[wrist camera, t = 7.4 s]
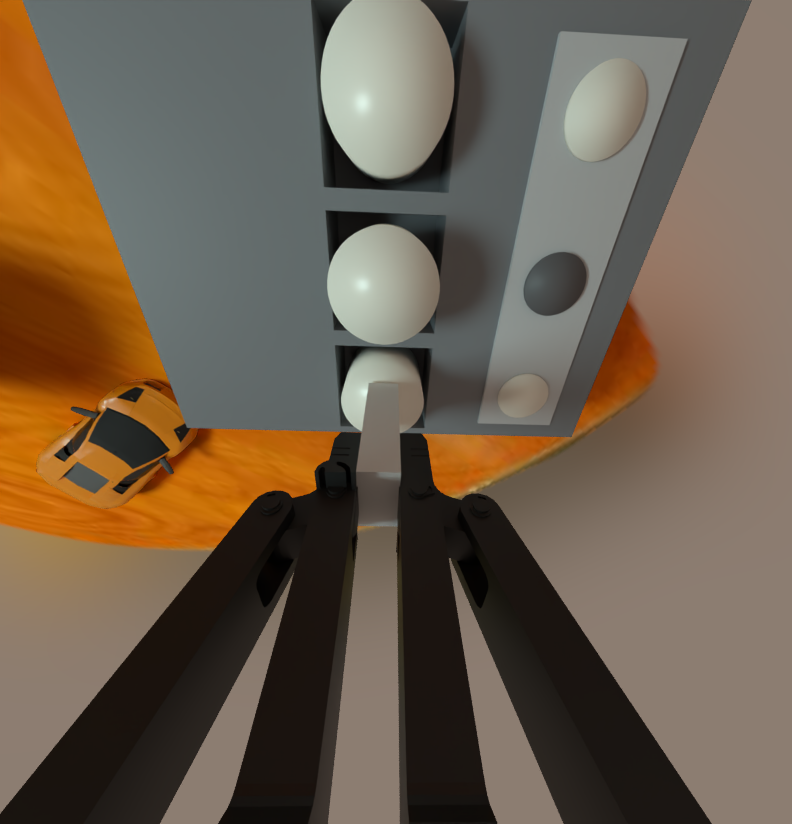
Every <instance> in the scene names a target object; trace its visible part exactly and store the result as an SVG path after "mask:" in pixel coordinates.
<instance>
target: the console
mask: <svg viewBox="0 0 792 824" xmlns="http://www.w3.org/2000/svg"><path fill="white" fill-rule="evenodd" d="M351 1H352V0H23V3H24V5H25V8H26V11H27V13H28V16H29V18H30V21H31V24H32V26H33V29H34V31H35V34H36V37H37V39H38V42H39V44H40V47H41V50H42V52H43V55H44V57H45V60H46V63H47V65H48V68H49V70H50V73H51V76H52V78H53V81H54V83H55V86H56V89H57V91H58V94H59V96H60V99H61V102H62V104H63V107H64V109H65V112H66V115H67V117H68V120H69V122H70V125H71V128H72V130H73V133H74V135H75V138H76V140H77V143H78V146H79V148H80V151H81V153H82V156H83V159H84V161H85V164H86V166H87V169H88V172H89V174H90V177H91V179H92V182H93V185H94V187H95V190H96V192H97V195H98V198H99V200H100V203H101V205H102V208H103V211H104V213H105V216H106V218H107V221H108V224H109V226H110V229H111V231H112V234H113V237H114V239H115V242H116V244H117V247H118V250H119V252H120V255H121V257H122V260H123V263H124V265H125V268H126V270H127V273H128V276H129V278H130V281H131V283H132V286H133V289H134V291H135V294H136V296H137V299H138V302H139V304H140V307H141V309H142V312H143V315H144V317H145V320H146V322H147V325H148V327H149V330H150V333H151V335H152V338H153V340H154V343H155V346H156V348H157V351H158V353H159V356H160V359H161V361H162V364H163V366H164V369H165V372H166V374H167V377H168V379H169V382H170V385H171V387H172V390H173V392H174V395H175V398H176V400H177V403H178V405H179V408H180V411H181V413H182V416H183V418H184V421H185V424H186V426H187V428H212V429H254V430H296V431H338V432H362V431H360V430H358V429H357V428H355V427H354V426H353V425H352V424H351V423H350V422H349V421H348V419H347V418H346V416H345V414H344V412H343V409H342V405H341V396H342V391H343V388H344V384H345V381H346V377H347V374H348V370H349V367H350V363H351V360H352V357H353V355H354V354H355V352H356V351H357V350H358V349H359V348H360V347H361V346H375V347H407V348H409V349H410V350H411V352H412V353H413V354H414V356H415V358H416V360H417V363H418V368H419V374H420V380H421V386H422V391H423V398H424V405H423V410H422V413H421V415H420V417H419V419H418V420H417V422H416V423H415V424H414V425H413V426H412V427H411V428H409V429H408V430H406V431H404V432H402V433H422V434H464V435H506V436H548V437H572V434H573V432H574V429H575V427H576V424H577V422H578V420H579V417H580V415H581V412H582V410H583V407H584V405H585V403H586V400H587V398H588V395H589V393H590V391H591V388H592V386H593V383H594V381H595V378H596V376H597V374H598V371H599V369H600V366H601V364H602V362H603V359H604V357H605V354H606V352H607V349H608V347H609V345H610V342H611V340H612V337H613V335H614V332H615V330H616V328H617V325H618V323H619V320H620V318H621V316H622V313H623V311H624V308H625V306H626V303H627V301H628V299H629V296H630V294H631V291H632V289H633V286H634V284H635V281H636V279H637V277H638V274H639V272H640V270H641V267H642V265H643V262H644V260H645V257H646V255H647V252H648V250H649V248H650V245H651V243H652V240H653V238H654V236H655V233H656V230H657V228H658V226H659V224H660V221H661V219H662V216H663V214H664V211H665V209H666V207H667V204H668V202H669V199H670V197H671V194H672V192H673V189H674V187H675V185H676V182H677V180H678V177H679V175H680V173H681V170H682V168H683V165H684V163H685V160H686V158H687V156H688V153H689V151H690V148H691V146H692V144H693V141H694V138H695V136H696V134H697V131H698V129H699V127H700V124H701V122H702V119H703V117H704V115H705V112H706V110H707V107H708V105H709V103H710V100H711V98H712V95H713V93H714V90H715V88H716V85H717V83H718V81H719V78H720V76H721V73H722V71H723V69H724V66H725V64H726V61H727V59H728V57H729V54H730V52H731V49H732V47H733V44H734V42H735V40H736V37H737V34H738V32H739V30H740V27H741V25H742V22H743V20H744V18H745V15H746V13H747V10H748V8H749V6H750V3H751V0H421V1H422V2H423V3H424V4H425V5H426V6H427V7H428V8H429V9H430V10H431V12H432V13H433V14H434V16H435V17H436V19H437V20H438V22H439V23H440V25H441V27H442V29H443V31H444V33H445V36H446V39H447V42H448V44H449V48H450V52H451V56H452V62H453V69H454V96H453V103H452V108H451V112H450V116H449V120H448V123H447V125H446V128H445V130H444V132H443V135H442V137H441V139H440V140H439V142H438V143H437V145H436V147H435V148H434V150H433V152H432V153H431V155H430V156H429V158H428V160H427V161H426V163H425V164H424V165H423V167H422V168H421V169H420V170H419V171H418V172H417V173H416V174H414V175H413V176H412V177H410V178H408V179H406V180H404V181H402V182H398V183H390V184H387V183H381V182H377V181H374V180H372V179H370V178H369V177H367V176H366V175H364V174H363V173H362V172H361V171H359V169H358V168H357V167H356V166H355V165H354V164H353V162H352V161H351V160H350V158H349V157H348V155H347V154H346V153H345V151H344V150H343V149H342V147H341V146H340V144H339V143H338V141H337V140H336V138H335V136H334V134H333V132H332V130H331V128H330V125H329V123H328V120H327V117H326V114H325V110H324V106H323V101H322V93H321V65H322V58H323V52H324V48H325V45H326V41H327V38H328V36H329V33H330V31H331V28H332V26H333V25H334V23H335V21H336V19H337V17H338V16H339V15H340V13H341V12H342V11H343V9H344V8H345V7H346V6H347V5H348V4H349V3H350V2H351ZM382 223H388V224H394V225H398V226H400V227H403V228H405V229H406V230H408V231H410V232H411V233H412V234H413V235H414V236H415V237H417V238H418V239H419V240H420V241H421V242H422V243H423V244H424V245H425V246H426V247H427V249H428V250H429V252H430V253H431V255H432V257H433V259H434V261H435V263H436V266H437V269H438V273H439V280H440V293H439V299H438V303H437V306H436V309H435V311H434V314H433V316H432V317H431V319H430V321H429V322H428V323H427V324H426V326H425V327H424V328H423V329H422V330H421V331H420V332H418V333H417V334H416V335H415V336H413V337H411V338H409V339H407V340H405V341H403V342H399V343H396V344H389V345H381V344H374V343H369V342H367V341H364V340H362V339H360V338H358V337H356V336H355V335H353V334H352V333H350V332H349V331H348V330H347V329H346V328H345V327H344V326H343V325H342V324H341V323H340V321H339V320H338V318H337V317H336V315H335V313H334V311H333V309H332V307H331V304H330V301H329V297H328V290H327V278H328V271H329V267H330V264H331V261H332V259H333V257H334V255H335V253H336V251H337V250H338V249H339V247H340V246H341V245H342V243H343V242H344V241H345V240H346V239H348V238H349V237H350V236H352V235H353V234H354V233H356V232H358V231H360V230H362V229H364V228H367V227H369V226H372V225H375V224H382Z"/></svg>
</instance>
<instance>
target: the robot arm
mask: <svg viewBox="0 0 792 824" xmlns="http://www.w3.org/2000/svg"><path fill="white" fill-rule="evenodd" d="M315 480H316V487H317V489H316V490H315V491H313V492H312V493H310V494H307V495H304V496H299V497H295V498H292V497H291V496H290V495H289V494H288V493H286V492H284V491H271V492H267V493H265V494H263V495H261V496H259V497H258V498H257V499H256V500H255V501H253V503H252V504H251V505H250V506H249V508H248V509H247V510H246V511H245V512H244V514H243V515H242V516H241V517H240V519H239V520H238V521H237V522H236V524H235V525H234V526H233V527H232V529H231V530H230V531H229V532H228V533H227V535H226V536H225V537H224V538H223V540H222V541H221V542H220V543H219V545H218V546H217V547H216V548H215V549H214V551H213V552H212V553H211V555H210V556H209V557H208V558H207V559H206V561H205V562H204V563H203V564H202V566H201V567H200V568H199V569H198V570H197V572H196V573H195V574H194V575H193V577H192V578H191V579H190V580H189V582H188V583H187V584H186V585H185V587H184V588H183V589H182V590H181V591H180V593H179V594H178V595H177V596H176V598H175V599H174V600H173V601H172V603H171V604H170V605H169V607H167V609H166V610H165V611H164V613H163V614H162V615H161V616H160V617H159V619H158V620H157V621H156V622H155V624H154V625H153V626H152V627H151V629H150V630H149V631H148V632H147V634H146V635H145V636H144V637H143V638H142V640H141V641H140V642H139V643H138V645H137V646H136V647H135V648H134V650H133V651H132V652H131V653H130V654H129V656H128V657H127V658H126V659H125V661H124V662H123V663H122V664H121V665H120V667H119V668H118V669H117V670H116V672H115V673H114V674H113V675H112V677H111V678H110V679H109V680H108V681H107V683H106V684H105V685H104V687H103V688H102V689H101V690H100V691H99V693H98V694H97V695H96V696H95V698H94V699H93V700H92V701H91V702H90V704H89V705H88V707H87V708H86V709H85V710H84V711H83V712H82V714H81V715H80V716H79V717H78V719H77V720H76V721H75V722H74V724H73V725H72V726H71V727H70V728H69V730H68V731H67V732H66V733H65V735H64V736H63V737H62V738H61V739H60V741H59V742H58V743H57V745H56V746H55V747H54V748H53V749H52V751H51V752H50V753H49V754H48V756H47V757H46V758H45V759H44V761H43V762H42V763H41V764H40V765H39V767H38V768H37V769H36V771H35V772H34V773H33V774H32V775H31V777H30V778H29V779H28V780H27V781H26V783H25V784H24V785H23V786H22V788H21V789H20V790H19V791H18V793H17V794H16V795H15V796H14V798H13V799H12V800H11V801H10V802H9V804H8V805H7V806H6V807H5V809H4V810H3V811H2V812H1V814H0V824H160V822H161V820H162V818H163V816H164V815H165V813H166V811H167V809H168V807H169V805H170V803H171V802H172V800H173V798H174V796H175V794H176V792H177V790H178V788H179V787H180V785H181V783H182V781H183V779H184V777H185V775H186V773H187V771H188V769H189V768H190V766H191V764H192V762H193V760H194V758H195V756H196V755H197V753H198V751H199V749H200V747H201V745H202V743H203V741H204V739H205V738H206V736H207V734H208V732H209V730H210V728H211V727H212V725H213V723H214V721H215V719H216V717H217V715H218V713H219V711H220V710H221V708H222V706H223V704H224V702H225V700H226V698H227V696H228V695H229V693H230V691H231V689H232V687H233V685H234V683H235V681H236V680H237V678H238V676H239V674H240V672H241V670H242V668H243V666H244V665H245V663H246V660H247V659H248V657H249V655H250V653H251V651H252V650H253V648H254V646H255V644H256V642H257V640H258V638H259V636H260V635H261V633H262V631H263V629H264V627H265V625H266V623H267V621H268V619H269V617H270V616H271V613H272V612H273V610H274V608H275V606H276V605H277V603H278V601H279V599H280V597H281V595H282V593H283V591H284V590H285V588H286V586H287V584H288V582H289V580H290V578H291V576H292V574H293V573H294V575H293V579H292V583H291V586H290V590H289V594H288V597H287V601H286V604H285V608H284V612H283V615H282V619H281V623H280V627H279V630H278V634H277V637H276V641H275V645H274V648H273V652H272V656H271V659H270V663H269V666H268V670H267V674H266V678H265V681H264V685H263V689H262V692H261V696H260V699H259V703H258V707H257V710H256V714H255V718H254V721H253V725H252V729H251V732H250V736H249V740H248V743H247V747H246V751H245V755H244V758H243V762H242V765H241V769H240V773H239V776H238V780H237V783H236V787H235V790H234V793H233V796H232V799H231V801H230V804H229V806H228V808H227V810H226V812H225V813H224V815H223V816H222V818H221V820H220V821H219V823H218V824H328V815H329V805H330V795H331V786H332V776H333V767H334V757H335V748H336V739H337V729H338V720H339V710H340V700H341V691H342V682H343V672H344V663H345V654H346V644H347V635H348V625H349V614H350V606H351V597H352V587H353V577H354V568H355V559H356V549H357V540H358V537H357V527H358V526H398V532H397V548H396V549H397V550H396V552H397V582H398V583H397V588H398V674H399V675H398V676H399V677H398V678H399V679H398V680H399V682H398V683H399V769H400V770H399V777H400V824H497V821H496V818H495V816H494V814H493V811H492V809H491V806H490V804H489V800H488V796H487V791H486V787H485V780H484V775H483V769H482V762H481V756H480V750H479V744H478V737H477V731H476V725H475V718H474V713H473V706H472V700H471V694H470V687H469V681H468V676H467V669H466V664H465V657H464V651H463V645H462V638H461V632H460V625H459V619H458V613H457V607H456V601H455V594H454V589H453V582H452V576H451V570H450V563H449V558H451V561H452V564H453V566H454V568H455V570H456V573H457V575H458V577H459V580H460V582H461V585H462V587H463V589H464V592H465V594H466V596H467V599H468V601H469V603H470V606H471V608H472V610H473V613H474V615H475V617H476V620H477V622H478V624H479V627H480V629H481V631H482V634H483V636H484V638H485V641H486V643H487V645H488V648H489V650H490V653H491V655H492V657H493V659H494V662H495V664H496V667H497V669H498V671H499V673H500V676H501V678H502V681H503V683H504V685H505V688H506V690H507V692H508V695H509V697H510V699H511V702H512V704H513V706H514V709H515V711H516V713H517V716H518V718H519V720H520V723H521V725H522V727H523V729H524V732H525V734H526V737H527V739H528V741H529V744H530V746H531V748H532V751H533V753H534V755H535V757H536V760H537V763H538V765H539V767H540V770H541V772H542V774H543V777H544V779H545V781H546V783H547V786H548V788H549V791H550V793H551V795H552V798H553V800H554V802H555V805H556V807H557V809H558V812H559V814H560V816H561V819H562V821H563V823H564V824H712V823H711V822H710V820H709V819H708V818H707V816H706V814H705V813H704V811H703V810H702V808H701V807H700V805H699V804H698V803H697V801H696V799H695V798H694V797H693V795H692V794H691V792H690V791H689V789H688V788H687V786H686V785H685V783H684V782H683V780H682V779H681V777H680V776H679V774H678V773H677V771H676V770H675V768H674V767H673V765H672V764H671V762H670V761H669V760H668V758H667V756H666V755H665V753H664V752H663V750H662V749H661V747H660V746H659V744H658V743H657V741H656V740H655V738H654V737H653V735H652V734H651V732H650V731H649V729H648V728H647V726H646V725H645V723H644V722H643V720H642V719H641V717H640V716H639V714H638V713H637V712H636V710H635V708H634V707H633V706H632V704H631V703H630V701H629V700H628V698H627V696H626V695H625V693H624V692H623V691H622V689H621V688H620V686H619V685H618V683H617V682H616V680H615V679H614V677H613V676H612V674H611V673H610V671H609V670H608V668H607V667H606V665H605V664H604V662H603V661H602V659H601V658H600V656H599V655H598V653H597V652H596V650H595V649H594V647H593V646H592V644H591V643H590V641H589V640H588V638H587V637H586V635H585V634H584V632H583V631H582V629H581V628H580V626H579V625H578V623H577V622H576V620H575V619H574V617H573V616H572V614H571V613H570V611H569V610H568V608H567V607H566V605H565V604H564V602H563V601H562V600H561V598H560V596H559V595H558V593H557V592H556V590H555V589H554V587H553V586H552V584H551V583H550V581H549V580H548V578H547V577H546V575H545V574H544V572H543V571H542V570H541V568H540V567H539V565H538V564H537V562H536V561H535V559H534V558H533V556H532V555H531V553H530V552H529V550H528V549H527V547H526V546H525V544H524V543H523V541H522V540H521V538H520V537H519V535H518V534H517V532H516V531H515V529H514V528H513V526H512V525H511V523H510V522H509V520H508V519H507V518H506V516H505V514H504V513H503V511H502V510H501V508H500V507H499V506H498V504H497V503H496V502H495V501H494V500H493V499H491V498H490V497H488V496H485V495H482V494H469V495H467V496H465V497H464V498H463V499H462V500H459V499H455V498H452V497H449V496H446V495H444V494H443V493H441V492H440V491H439V490H438V489H437V488H436V486H435V485H434V482H433V477H432V471H431V464H430V458H429V451H428V445H427V440H426V439H425V438H424V436H423V435H422V434H421V433H400V427H399V396H398V384H391V383H369V385H368V392H367V399H366V406H365V413H364V420H363V427H362V433H353V432H341V433H340V434H339V435H338V436H337V437H336V438H335V440H334V443H333V447H332V451H331V456H330V459H329V460H328V461H325V462H323V463H322V464H320V465H319V466H318V467H317V468H316V470H315Z"/></svg>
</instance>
